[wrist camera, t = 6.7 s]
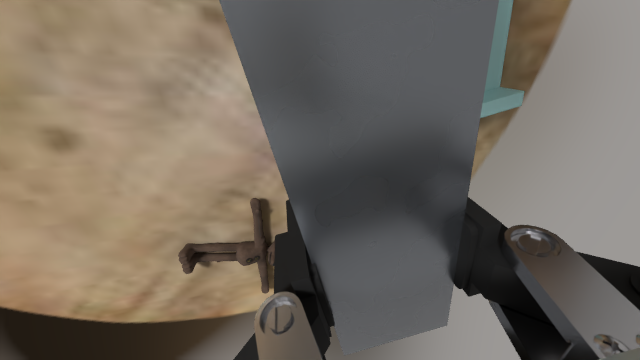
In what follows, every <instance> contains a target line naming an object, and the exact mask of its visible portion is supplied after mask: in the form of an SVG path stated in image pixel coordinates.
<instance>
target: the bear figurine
mask: <svg viewBox="0 0 640 360" xmlns="http://www.w3.org/2000/svg"><path fill="white" fill-rule="evenodd" d="M250 204H251V208H252V212H253V218H254V238H255V242H254V241H252V242H241V243H239V244H219V243H215V244H186V245H185V247H184V248H183V249H182V250H181V251H180V252H179V255H178V256H179V261H180V262H181V264H182V268H183V271H184V272H185V273H186V274H189V273H192V271H193V269H194V267H195V265H196V263H197V262H200V261H202V262H206V261H217V262H220V261H238V262H239V263H240V264H241V265H243V266H246V265H250V264H253V263H255V262H257V263H258V268H259V272H260V277H261V282H262V288H261V289H262V292H263V293H268V292H269V283H268V275H267V263H266V256H267V252H269V254H268V262H269V264H270V265H272V266H274V264H275V241H274V242H273V243H272V244H271V246H270V247H267V244H266V243H265V242H264V241H265V237H264V235H263V227H262V222H263V220H262V215H261V206H260V201H259V200H258V199H256V198H253V199H251V202H250ZM217 251H236V253H217V254H198V253H195V252H217Z"/></svg>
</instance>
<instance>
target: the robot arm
mask: <svg viewBox="0 0 640 360" xmlns="http://www.w3.org/2000/svg"><path fill="white" fill-rule="evenodd" d="M286 209H287V227H288V232H286V233H282V234H278V235H276V236H275V264H274V294H273V295H272V296H270V297H269V298H267V299H266V300H265V301H264V302H263V303H262V304H261V306H260V307H259V309H258V311H257V313H256V316H255V320H254V329H255V333H254V334H253V336H252V337H251V338H250V339H249V341H248V342H247V343H246V345H245V346H244V347H243V348H242V350H241V351H240V352H239V353H238V355H237V356H236V357H235V359H234V360H326V358H325V355H324V354H325V352H326V351H327V349H328V347H329V345H330V338H329V337H331V331H330V327H331V326H334V325H335V322H334V317H333V314H332V311H331V308H330V305H329V303H328V300H327V297H326V294H325V291H324V288H323V285H322V282H321V279H320V276H319V273H318V270H317V267H316V264H315V263H313V264H312V262H311V260H310V257H309V254H308V251H307V248H306V245H305V243H304V240H303V237H302V234H301V231H300V228H299V225H298V223H297V220H296V217H295V214H294V211H293V208H292V206H291V203H290V200H287V201H286ZM454 284H455V286H456V287H457V288H459V289H463V290H464V291H465V292H466V294H467V295H468V296H473V295H476V294H479V293H481V294H482V295H483V297H484V298H485V299H488V300H489V303H490V305H491V307H492V308H493V310H494V312H495V314H496V316H497V317H498V319H499V321H500V323H501V325H502V326H503V328H504V330H505V332H506V334H507V335H508V337H509V339H510V341H511V343H512V344H513V346H514V348H515V350H516V352H517V353H518V355H519V357H520V359H521V360H640V267H638V266H634V265H630V264H625V263H621V262H617V261H613V260H609V259H605V258H600V257H596V256H592V255H588V254H584V253H580V252H576V251H574V250H573V249H572V248H571V247H570V246H569V245H568V244H567V243H565V241H564V240H562V239H561V238H560V237H558V236H557V235H556V234H554V233H552V232H550V231H548V230H545V229H543V228H539V227H536V226H530V225H516V226H512V227H511V228H507V227H505V226H504V225H503V224H502V223H501V222H500V221H498V220H497V219H496V218H494V217H493V216H492V215H491V214H489V213H488V212H487V211H486V210H484V209H483V208H482V207H480V206H479V205H478V204H476V203H475V202H474V201H473V200H471V199H470V198H468V197H467V204H466V210H465V216H464V221H463V226H462V232H461V239H460V245H459V251H458V257H457V264H456V270H455V276H454Z"/></svg>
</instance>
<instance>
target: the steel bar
mask: <svg viewBox="0 0 640 360" xmlns="http://www.w3.org/2000/svg"><path fill="white" fill-rule="evenodd" d="M219 1H220V4H221V6H222V9H223V12H224V15H225V18H226V21H227V24H228V26H229V29H230V32H231V35H232V38H233V41H234V43H235V46H236V49H237V52H238V55H239V58H240V61H241V63H242V66H243V69H244V72H245V75H246V78H247V80H248V83H249V86H250V89H251V92H252V95H253V97H254V100H255V103H256V106H257V109H258V112H259V115H260V117H261V120H262V123H263V126H264V129H265V132H266V134H267V137H268V140H269V143H270V146H271V149H272V152H273V154H274V157H275V160H276V163H277V166H278V169H279V171H280V174H281V177H282V180H283V183H284V186H285V189H286V191H287V194H288V197H289V200H290V203H291V206H292V208H293V211H294V214H295V217H296V220H297V223H298V225H299V228H300V231H301V234H302V237H303V240H304V243H305V245H306V248H307V251H308V254H309V257H310V260H311V262H312V264H313V263H315V264H316V267H317V270H318V273H319V276H320V279H321V282H322V285H323V288H324V291H325V294H326V297H327V300H328V303H329V305H330V308H331V311H332V314H333V317H334V322H335V325H334V328H335V331H336V333H337V336H338V339H339V342H340V345H341V348H342V351H343V353H344V355H348V354H351V353H354V352H358V351H361V350H365V349H368V348H371V347H375V346H378V345H382V344H385V343H389V342H392V341H395V340H398V339H402V338H405V337H409V336H412V335H416V334H419V333H422V332H426V331H429V330H433V329H436V328H440V327H443V326H446V325H447V322H448V316H449V310H450V304H451V297H452V291H453V285H454V276H455V270H456V264H457V257H458V251H459V245H460V239H461V232H462V226H463V221H464V216H465V210H466V204H467V197H468V191H469V185H470V179H471V172H472V166H473V160H474V154H475V147H476V141H477V135H478V129H479V122H480V116H481V110H482V104H483V97H484V91H485V85H486V79H487V72H488V66H489V60H490V54H491V47H492V41H493V35H494V29H495V22H496V16H497V10H498V4H499V0H219Z"/></svg>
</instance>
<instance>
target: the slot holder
mask: <svg viewBox="0 0 640 360" xmlns="http://www.w3.org/2000/svg"><path fill="white" fill-rule="evenodd" d="M512 6H513V0H499V4H498V10H497V16H496V22H495V29H494V35H493V41H492V47H491V54H490V60H489V66H488V72H487V79H486V85H485V91H484V97H483V104H482V110H481V116H480V118H482V117H486V116H489V115H492V114H496V113H499V112H502V111H506V110H509V109H512V108H516V107H519V106H521V105H522V101H523V96H524V91H521V90H515V89H509V88H503V87H500V83H501V76H502V70H503V63H504V57H505V51H506V44H507V38H508V31H509V25H510V19H511V12H512Z"/></svg>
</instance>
